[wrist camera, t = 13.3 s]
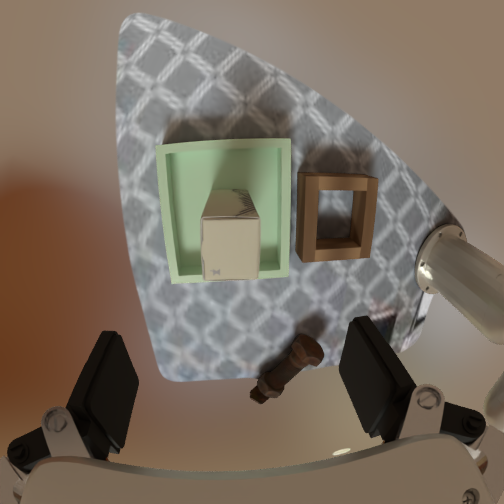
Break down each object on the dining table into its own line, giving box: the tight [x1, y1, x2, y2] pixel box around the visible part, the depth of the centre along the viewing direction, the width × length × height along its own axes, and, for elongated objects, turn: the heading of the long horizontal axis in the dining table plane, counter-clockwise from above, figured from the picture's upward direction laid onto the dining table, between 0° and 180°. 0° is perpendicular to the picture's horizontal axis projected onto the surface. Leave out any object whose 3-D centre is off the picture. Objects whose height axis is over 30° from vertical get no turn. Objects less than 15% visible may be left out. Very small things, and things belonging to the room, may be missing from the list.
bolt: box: [250, 334, 324, 404], centre depth 41 cm, size 6×5×15 cm
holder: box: [295, 172, 378, 263], centre depth 32 cm, size 9×10×4 cm
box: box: [200, 189, 261, 281], centre depth 25 cm, size 5×4×13 cm
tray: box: [156, 138, 291, 284], centre depth 31 cm, size 14×16×3 cm
